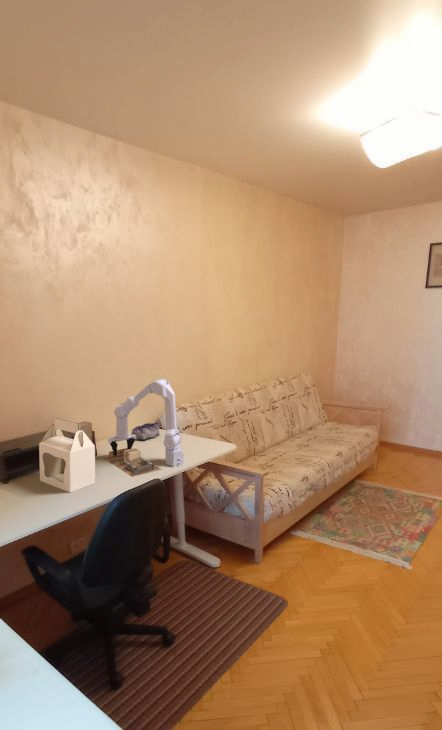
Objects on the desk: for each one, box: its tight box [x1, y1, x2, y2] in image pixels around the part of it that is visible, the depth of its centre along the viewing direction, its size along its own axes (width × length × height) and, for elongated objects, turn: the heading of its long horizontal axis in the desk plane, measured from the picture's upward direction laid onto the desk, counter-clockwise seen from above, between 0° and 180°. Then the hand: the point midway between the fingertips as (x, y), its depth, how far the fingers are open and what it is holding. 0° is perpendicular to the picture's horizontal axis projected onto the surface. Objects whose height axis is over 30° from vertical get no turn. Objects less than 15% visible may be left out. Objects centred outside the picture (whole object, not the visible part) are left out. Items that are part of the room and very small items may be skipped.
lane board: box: [103, 454, 163, 478], centre depth 209 cm, size 32×16×4 cm, turn 39°
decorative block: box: [67, 421, 93, 443], centre depth 211 cm, size 11×6×20 cm, turn 147°
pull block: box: [108, 447, 142, 465], centre depth 215 cm, size 16×12×6 cm
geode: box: [130, 422, 161, 441], centre depth 260 cm, size 20×12×10 cm, turn 147°
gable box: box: [38, 418, 96, 493], centre depth 185 cm, size 22×13×28 cm, turn 56°
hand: (122, 454), depth 218 cm, fingers open, 7 cm apart
